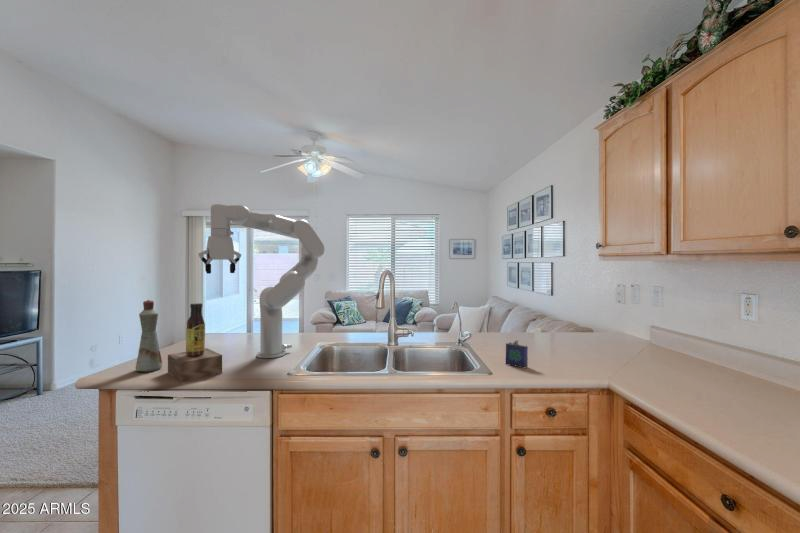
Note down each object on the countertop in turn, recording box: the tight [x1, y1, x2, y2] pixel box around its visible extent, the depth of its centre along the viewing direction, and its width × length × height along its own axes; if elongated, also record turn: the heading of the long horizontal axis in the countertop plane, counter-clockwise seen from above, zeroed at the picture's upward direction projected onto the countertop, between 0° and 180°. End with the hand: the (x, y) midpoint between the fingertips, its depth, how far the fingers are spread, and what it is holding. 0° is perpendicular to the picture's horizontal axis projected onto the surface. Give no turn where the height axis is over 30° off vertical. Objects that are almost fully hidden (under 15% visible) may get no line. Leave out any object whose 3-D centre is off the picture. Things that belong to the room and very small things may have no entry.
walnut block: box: [167, 347, 223, 383], centre depth 135 cm, size 14×16×7 cm
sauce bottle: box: [185, 302, 206, 356], centre depth 135 cm, size 7×6×20 cm
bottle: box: [135, 299, 163, 373], centre depth 139 cm, size 9×9×28 cm
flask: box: [505, 339, 529, 368], centre depth 146 cm, size 9×3×11 cm, turn 50°
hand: (220, 273), depth 150 cm, fingers open, 9 cm apart
